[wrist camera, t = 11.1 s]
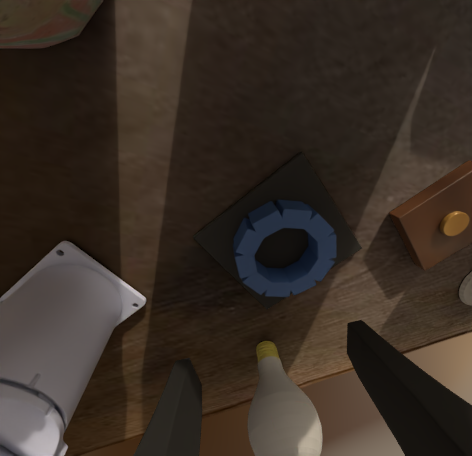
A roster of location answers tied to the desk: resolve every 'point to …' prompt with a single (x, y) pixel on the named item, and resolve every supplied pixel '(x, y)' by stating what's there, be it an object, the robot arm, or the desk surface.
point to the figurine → (466, 290)
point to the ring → (297, 274)
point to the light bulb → (281, 412)
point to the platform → (437, 218)
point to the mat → (286, 239)
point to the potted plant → (43, 21)
